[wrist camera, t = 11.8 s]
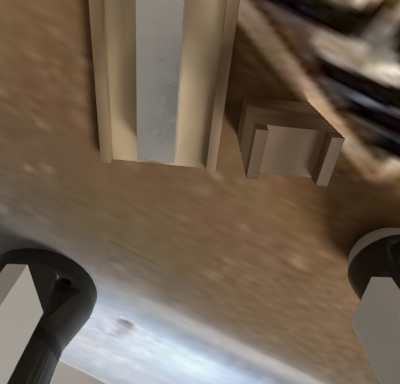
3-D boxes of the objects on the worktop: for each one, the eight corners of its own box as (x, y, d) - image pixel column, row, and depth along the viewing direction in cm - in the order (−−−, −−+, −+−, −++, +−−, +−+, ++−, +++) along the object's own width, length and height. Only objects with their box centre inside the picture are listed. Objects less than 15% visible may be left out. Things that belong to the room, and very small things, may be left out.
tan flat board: (104, 156, 34) (100, 162, 32) (76, -262, 19) (67, -279, 18) (214, 167, 34) (215, 173, 33) (271, -233, 19) (275, -249, 18)
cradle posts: (236, 134, 32) (246, 178, 24) (284, -139, 21) (328, -218, 14) (298, 140, 32) (327, 186, 24) (374, -127, 22) (469, -198, 14)
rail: (143, 144, 32) (137, 159, 29) (145, -206, 20) (133, -242, 17) (176, 148, 32) (173, 162, 29) (199, -198, 20) (198, -233, 17)
